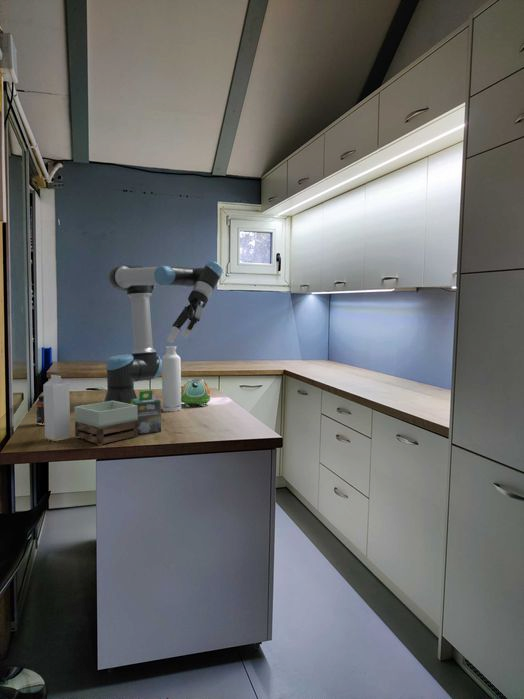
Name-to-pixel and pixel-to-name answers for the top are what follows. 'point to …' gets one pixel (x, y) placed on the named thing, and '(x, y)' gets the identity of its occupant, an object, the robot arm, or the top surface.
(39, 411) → the supplement bottle
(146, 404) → the chalk box
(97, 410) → the box
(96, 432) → the lower crate
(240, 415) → the top surface
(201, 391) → the turtle holder
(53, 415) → the milk
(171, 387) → the bottle
